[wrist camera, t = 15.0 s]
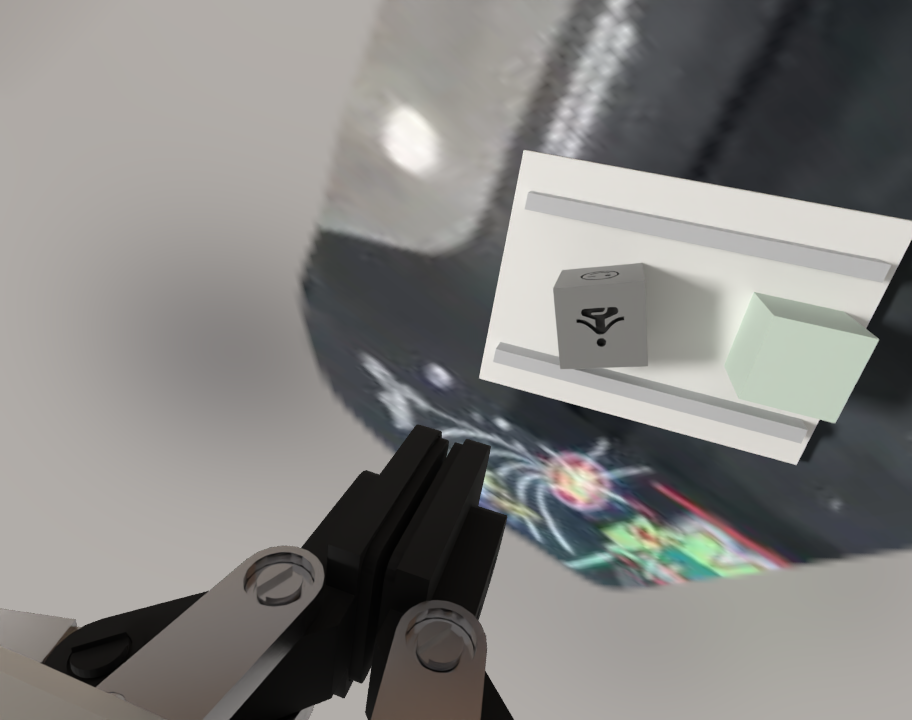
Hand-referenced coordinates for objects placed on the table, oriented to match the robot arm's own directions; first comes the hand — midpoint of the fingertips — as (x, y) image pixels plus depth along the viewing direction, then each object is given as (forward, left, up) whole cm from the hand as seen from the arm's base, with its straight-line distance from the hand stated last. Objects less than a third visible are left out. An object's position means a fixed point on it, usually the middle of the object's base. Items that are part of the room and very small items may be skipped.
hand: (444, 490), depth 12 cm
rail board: (-7, +2, -27) cm, 28 cm away
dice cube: (-3, +2, -26) cm, 27 cm away
